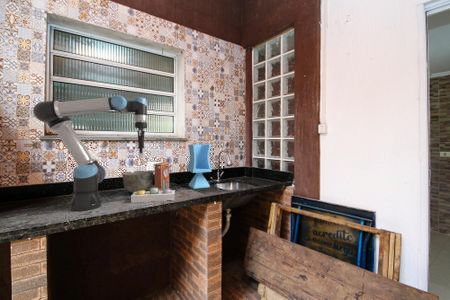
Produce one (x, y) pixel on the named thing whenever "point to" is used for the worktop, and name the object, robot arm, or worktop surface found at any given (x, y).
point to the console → (152, 197)
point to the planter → (199, 165)
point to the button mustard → (141, 192)
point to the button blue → (166, 191)
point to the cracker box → (162, 176)
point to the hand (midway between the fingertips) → (141, 158)
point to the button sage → (153, 190)
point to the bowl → (137, 180)
